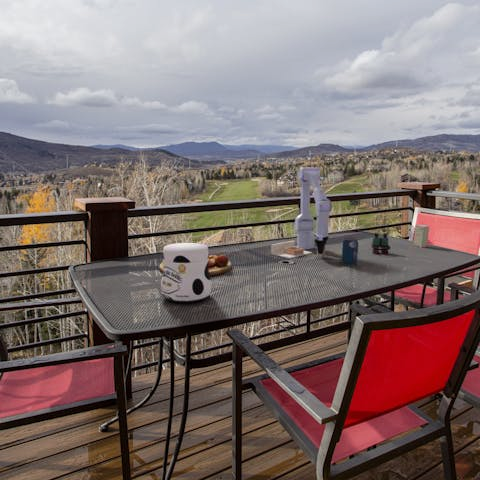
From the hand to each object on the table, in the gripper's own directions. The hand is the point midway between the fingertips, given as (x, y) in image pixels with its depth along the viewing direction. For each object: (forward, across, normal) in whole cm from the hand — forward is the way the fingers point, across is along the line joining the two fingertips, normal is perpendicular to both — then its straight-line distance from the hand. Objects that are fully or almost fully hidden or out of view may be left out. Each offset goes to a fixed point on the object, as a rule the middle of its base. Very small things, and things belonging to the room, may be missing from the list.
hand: (321, 252), depth 201 cm
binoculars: (+3, -21, +29) cm, 36 cm away
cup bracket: (+3, -4, -15) cm, 16 cm away
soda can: (+3, +8, +14) cm, 16 cm away
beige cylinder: (+3, 0, 0) cm, 3 cm away
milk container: (+3, +76, -38) cm, 85 cm away
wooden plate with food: (+4, +38, -51) cm, 64 cm away
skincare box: (+3, -48, +51) cm, 70 cm away
